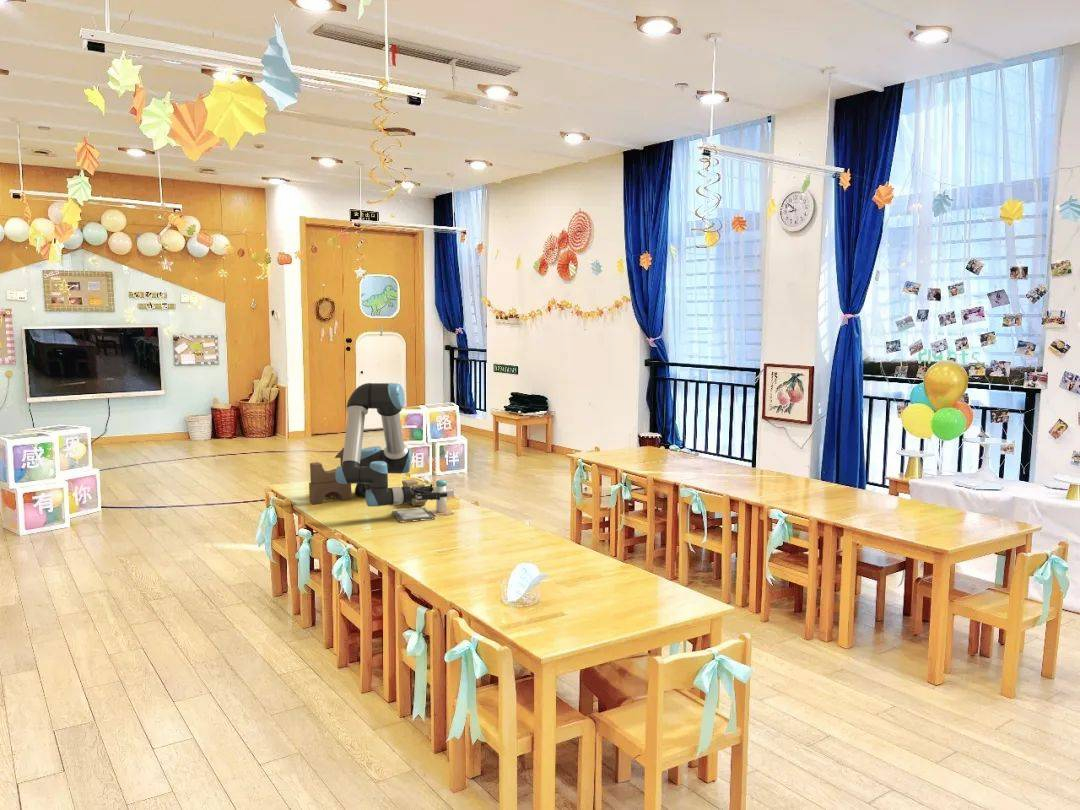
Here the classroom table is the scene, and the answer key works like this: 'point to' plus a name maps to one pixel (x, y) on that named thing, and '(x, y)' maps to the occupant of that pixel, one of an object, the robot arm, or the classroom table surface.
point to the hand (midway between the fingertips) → (450, 490)
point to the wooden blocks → (326, 483)
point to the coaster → (441, 513)
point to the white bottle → (442, 502)
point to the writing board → (413, 514)
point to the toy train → (414, 484)
